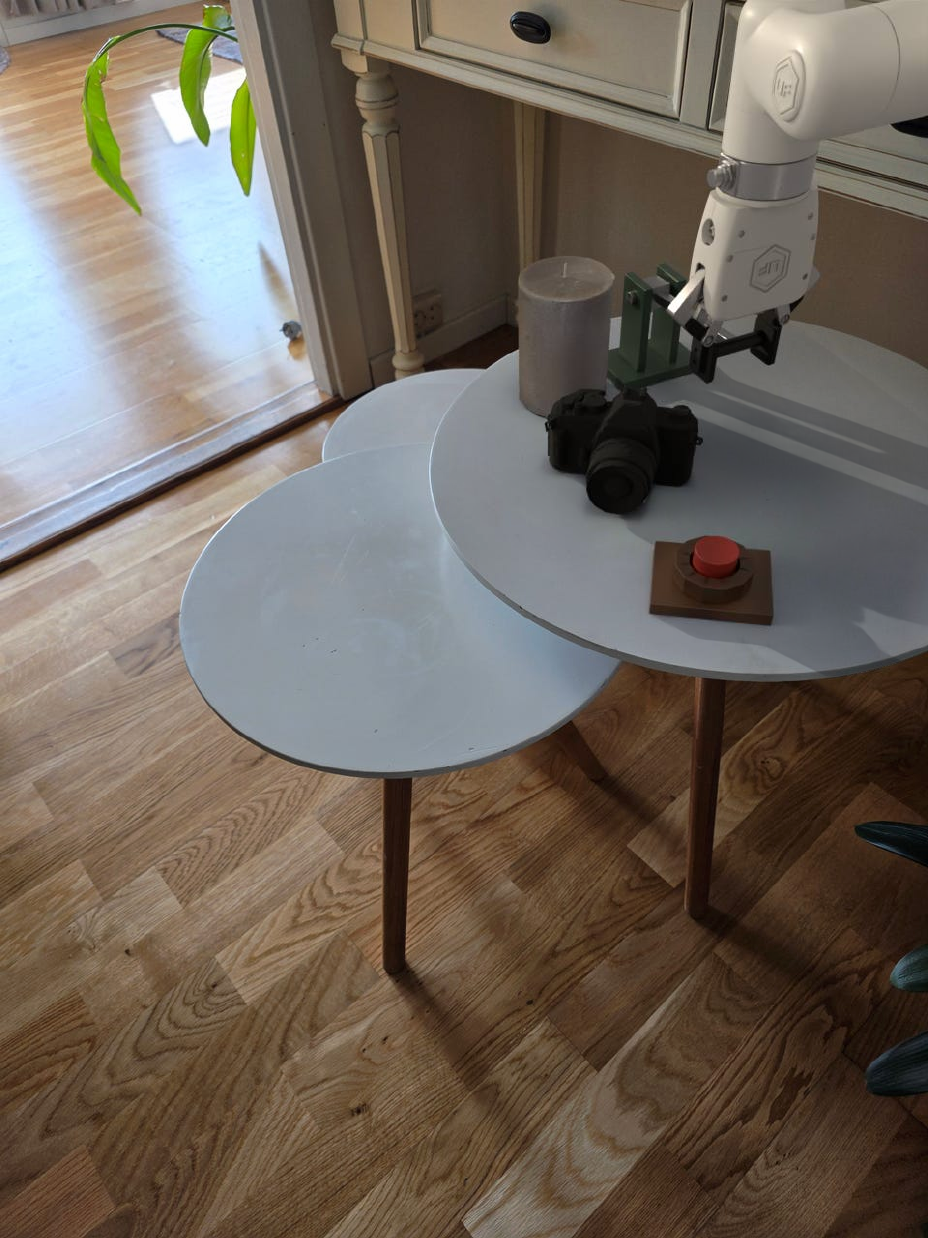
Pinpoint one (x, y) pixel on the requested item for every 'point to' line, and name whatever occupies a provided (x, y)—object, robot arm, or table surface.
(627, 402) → the film camera
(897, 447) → the table surface
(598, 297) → the pillar candle
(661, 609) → the button block
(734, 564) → the button
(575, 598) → the table surface
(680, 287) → the bracket
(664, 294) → the lever
